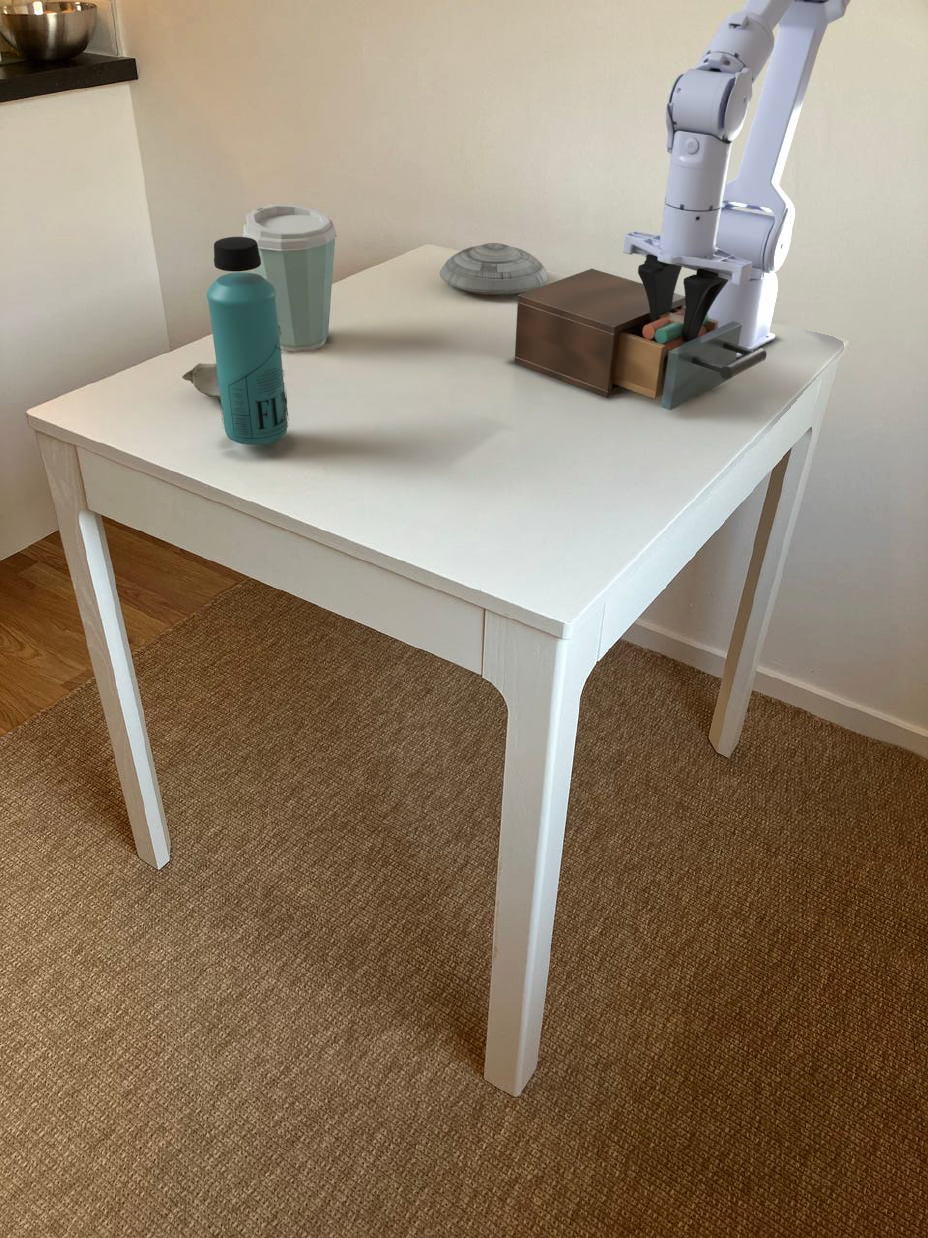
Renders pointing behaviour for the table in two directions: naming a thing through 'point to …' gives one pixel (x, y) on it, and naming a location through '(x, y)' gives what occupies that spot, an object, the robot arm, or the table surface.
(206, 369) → the seashell
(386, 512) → the table surface
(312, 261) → the disposable coffee cup
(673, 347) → the teal and pink cylinders
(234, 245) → the beverage bottle
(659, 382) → the drawer
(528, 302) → the cabinet
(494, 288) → the flying saucer
